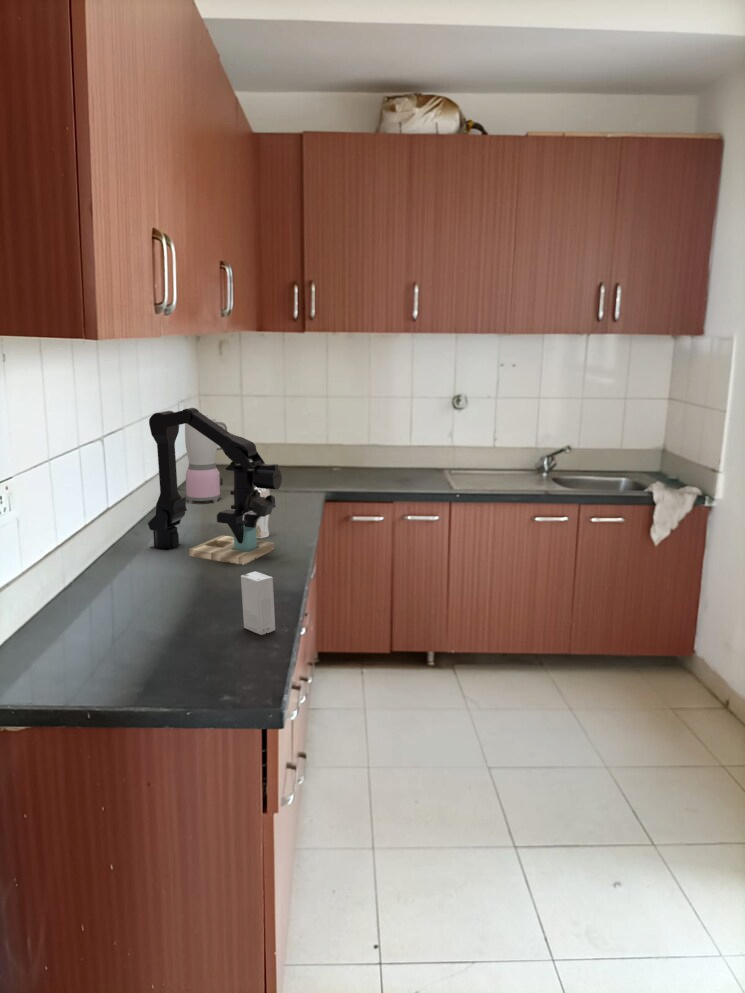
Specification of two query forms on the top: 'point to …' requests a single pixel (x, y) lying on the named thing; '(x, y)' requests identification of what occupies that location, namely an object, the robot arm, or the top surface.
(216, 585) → the top surface
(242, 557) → the pocket board
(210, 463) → the blender
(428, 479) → the top surface
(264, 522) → the beer glass
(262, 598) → the skincare box
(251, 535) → the teal block
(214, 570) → the top surface
